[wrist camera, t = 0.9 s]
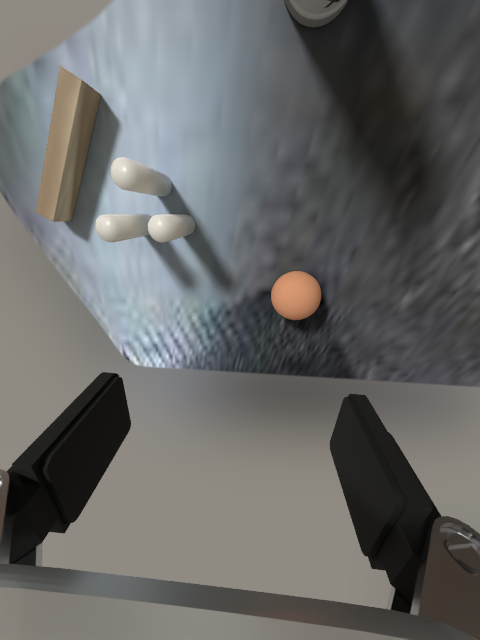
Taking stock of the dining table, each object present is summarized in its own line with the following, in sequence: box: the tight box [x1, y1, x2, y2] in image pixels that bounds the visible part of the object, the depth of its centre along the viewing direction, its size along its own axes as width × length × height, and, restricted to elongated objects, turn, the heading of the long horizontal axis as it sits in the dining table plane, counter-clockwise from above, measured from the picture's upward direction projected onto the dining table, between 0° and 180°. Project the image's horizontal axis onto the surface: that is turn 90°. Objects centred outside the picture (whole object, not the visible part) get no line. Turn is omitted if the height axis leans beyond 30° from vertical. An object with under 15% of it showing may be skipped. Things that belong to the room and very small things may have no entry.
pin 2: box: [96, 215, 151, 242], centre depth 26 cm, size 2×2×8 cm
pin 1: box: [111, 157, 172, 197], centre depth 24 cm, size 2×2×8 cm
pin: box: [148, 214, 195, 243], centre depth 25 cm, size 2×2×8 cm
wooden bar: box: [36, 66, 101, 222], centre depth 26 cm, size 2×14×3 cm, turn 150°
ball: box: [271, 271, 321, 320], centre depth 29 cm, size 6×6×6 cm
